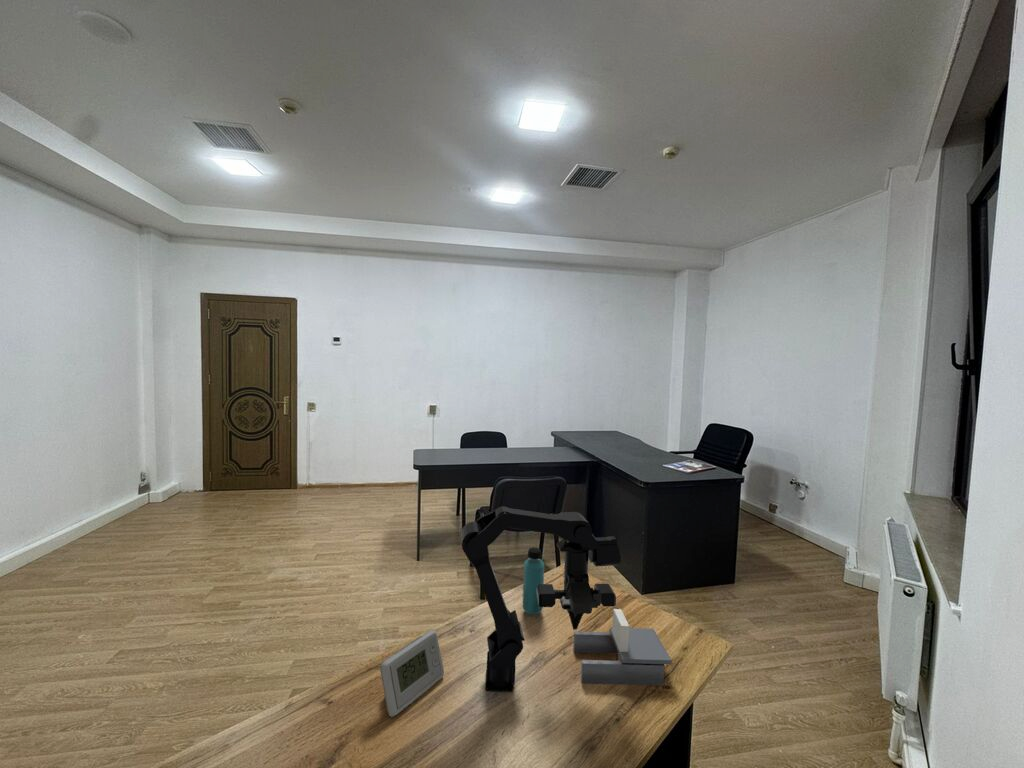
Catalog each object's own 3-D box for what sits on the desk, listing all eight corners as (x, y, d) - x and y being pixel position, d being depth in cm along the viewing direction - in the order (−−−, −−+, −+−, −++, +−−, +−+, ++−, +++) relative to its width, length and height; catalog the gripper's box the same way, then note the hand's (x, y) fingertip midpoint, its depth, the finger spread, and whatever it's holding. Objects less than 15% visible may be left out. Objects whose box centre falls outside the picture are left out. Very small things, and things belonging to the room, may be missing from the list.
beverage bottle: (543, 619, 123) (546, 554, 122) (521, 618, 123) (524, 553, 122) (542, 607, 130) (545, 545, 129) (521, 606, 130) (524, 544, 129)
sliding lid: (622, 662, 99) (624, 632, 98) (609, 630, 111) (611, 603, 110) (671, 664, 99) (673, 633, 99) (653, 632, 111) (654, 604, 111)
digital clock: (388, 724, 85) (389, 674, 85) (369, 697, 92) (371, 651, 92) (452, 685, 96) (454, 641, 96) (432, 664, 103) (433, 623, 103)
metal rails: (581, 683, 99) (582, 663, 98) (573, 649, 111) (574, 631, 110) (663, 685, 99) (664, 665, 99) (646, 651, 111) (647, 633, 111)
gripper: (542, 584, 91) (540, 652, 92) (624, 583, 92) (622, 650, 93) (536, 560, 102) (535, 621, 103) (610, 560, 103) (608, 620, 104)
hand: (574, 628), depth 100 cm, fingers closed
